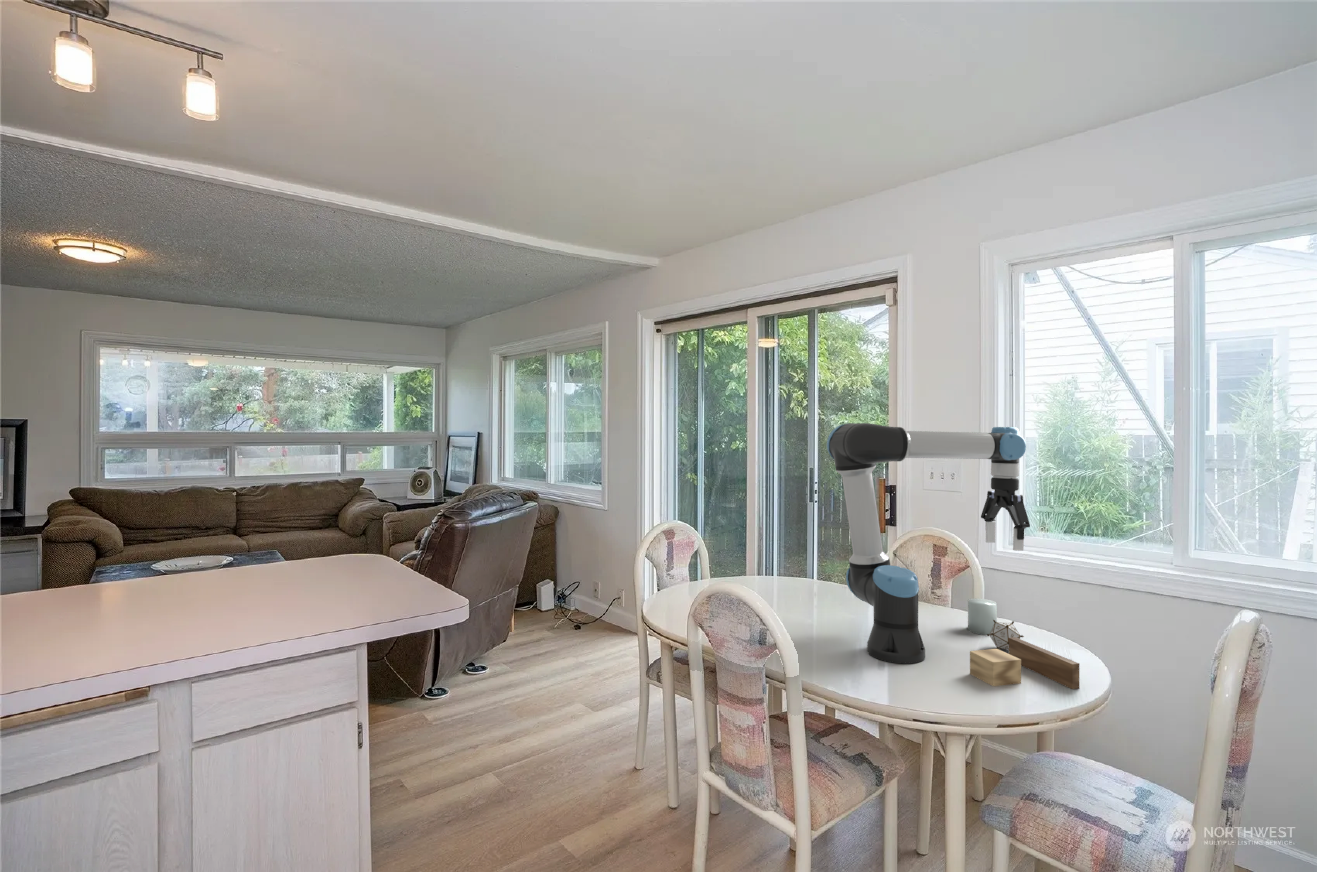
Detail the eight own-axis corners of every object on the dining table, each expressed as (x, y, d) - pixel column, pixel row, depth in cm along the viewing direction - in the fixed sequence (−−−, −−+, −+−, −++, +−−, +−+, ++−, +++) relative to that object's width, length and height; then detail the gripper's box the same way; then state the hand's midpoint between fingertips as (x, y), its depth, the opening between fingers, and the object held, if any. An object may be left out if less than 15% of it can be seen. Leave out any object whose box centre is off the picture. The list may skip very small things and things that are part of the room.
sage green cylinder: (980, 635, 191) (980, 606, 190) (962, 627, 198) (962, 599, 198) (1002, 633, 192) (1002, 604, 192) (983, 626, 200) (983, 597, 200)
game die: (1007, 661, 180) (1025, 631, 181) (1015, 660, 172) (1034, 629, 173) (977, 641, 183) (994, 612, 185) (983, 639, 176) (1001, 609, 177)
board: (1072, 689, 151) (1072, 664, 151) (1008, 659, 170) (1008, 637, 170) (1079, 688, 151) (1079, 663, 151) (1015, 659, 171) (1014, 637, 171)
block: (993, 686, 153) (993, 662, 153) (969, 674, 161) (969, 651, 161) (1021, 683, 155) (1021, 659, 155) (996, 671, 163) (996, 648, 163)
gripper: (1044, 480, 181) (1043, 553, 182) (991, 474, 206) (990, 539, 206) (1019, 480, 181) (1018, 554, 181) (969, 474, 206) (968, 539, 206)
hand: (1003, 546), depth 194 cm, fingers open, 13 cm apart
